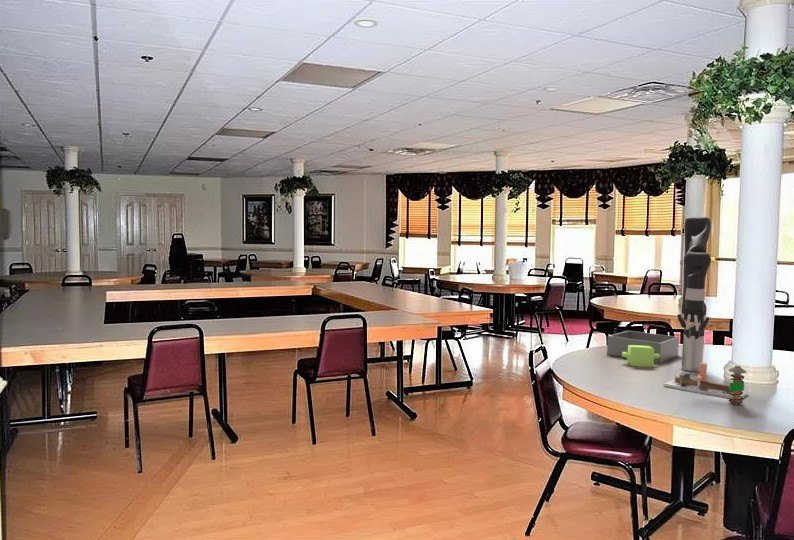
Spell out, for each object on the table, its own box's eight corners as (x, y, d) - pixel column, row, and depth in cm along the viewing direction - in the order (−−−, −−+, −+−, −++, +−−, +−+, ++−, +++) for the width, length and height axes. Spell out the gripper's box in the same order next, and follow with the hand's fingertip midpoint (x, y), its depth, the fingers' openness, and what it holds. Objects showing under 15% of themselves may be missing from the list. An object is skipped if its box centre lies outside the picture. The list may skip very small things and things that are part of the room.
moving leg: (699, 383, 276) (701, 362, 275) (707, 384, 274) (708, 363, 273) (694, 386, 270) (695, 364, 269) (701, 387, 268) (703, 366, 267)
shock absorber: (728, 400, 255) (730, 363, 254) (746, 403, 251) (748, 366, 250) (724, 403, 250) (727, 366, 249) (742, 407, 246) (745, 368, 245)
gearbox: (656, 363, 323) (657, 345, 323) (662, 367, 314) (663, 348, 313) (620, 361, 325) (621, 343, 325) (625, 365, 315) (626, 347, 315)
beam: (676, 380, 282) (677, 370, 282) (741, 391, 265) (742, 381, 264) (671, 383, 276) (671, 373, 276) (736, 395, 259) (737, 384, 259)
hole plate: (673, 381, 284) (673, 378, 284) (747, 395, 264) (747, 391, 264) (663, 386, 275) (663, 383, 275) (740, 400, 255) (740, 397, 255)
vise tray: (627, 347, 364) (628, 330, 364) (678, 355, 346) (679, 337, 345) (606, 354, 344) (607, 335, 343) (659, 362, 325) (660, 343, 324)
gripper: (714, 299, 272) (712, 339, 273) (680, 296, 281) (678, 335, 283) (709, 301, 267) (707, 341, 268) (675, 297, 276) (672, 337, 277)
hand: (692, 338), depth 275 cm, fingers closed
